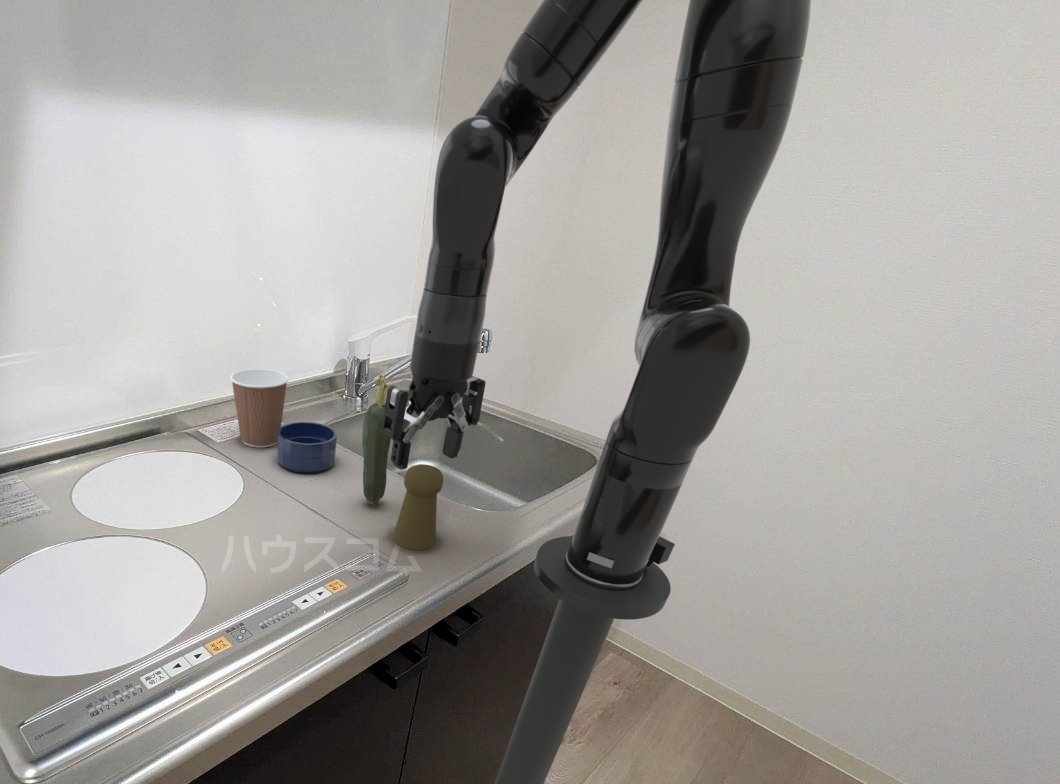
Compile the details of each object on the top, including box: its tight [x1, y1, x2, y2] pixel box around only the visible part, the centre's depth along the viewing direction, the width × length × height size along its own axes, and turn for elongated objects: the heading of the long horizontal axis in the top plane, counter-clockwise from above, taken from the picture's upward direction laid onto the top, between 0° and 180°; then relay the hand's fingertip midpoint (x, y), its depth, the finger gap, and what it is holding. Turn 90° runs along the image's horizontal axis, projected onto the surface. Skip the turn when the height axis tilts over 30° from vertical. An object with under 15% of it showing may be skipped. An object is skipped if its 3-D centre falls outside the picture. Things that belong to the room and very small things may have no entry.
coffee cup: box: [229, 368, 290, 449], centre depth 106 cm, size 10×10×12 cm
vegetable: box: [361, 374, 393, 505], centre depth 85 cm, size 4×4×20 cm
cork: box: [392, 463, 444, 551], centre depth 80 cm, size 6×6×11 cm
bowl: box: [276, 421, 338, 474], centre depth 101 cm, size 10×10×6 cm
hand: (425, 461), depth 76 cm, fingers open, 8 cm apart
